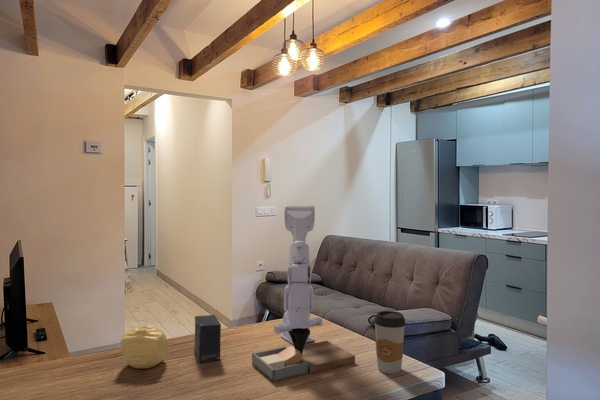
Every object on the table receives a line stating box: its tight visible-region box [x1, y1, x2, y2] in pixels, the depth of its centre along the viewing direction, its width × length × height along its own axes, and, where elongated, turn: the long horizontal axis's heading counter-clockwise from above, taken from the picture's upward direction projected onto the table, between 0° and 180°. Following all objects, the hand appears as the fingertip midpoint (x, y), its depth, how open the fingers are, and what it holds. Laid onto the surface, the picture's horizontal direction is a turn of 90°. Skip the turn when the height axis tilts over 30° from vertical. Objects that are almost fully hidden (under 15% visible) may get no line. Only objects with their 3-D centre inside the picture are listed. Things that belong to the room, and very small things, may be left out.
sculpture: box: [120, 325, 168, 370], centre depth 115 cm, size 11×12×11 cm
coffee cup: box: [374, 310, 406, 375], centre depth 113 cm, size 8×8×15 cm
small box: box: [193, 314, 222, 363], centre depth 121 cm, size 11×6×10 cm, turn 22°
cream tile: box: [260, 354, 285, 369], centre depth 111 cm, size 5×5×2 cm
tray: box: [251, 346, 309, 383], centre depth 112 cm, size 13×10×3 cm
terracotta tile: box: [277, 345, 303, 367], centre depth 114 cm, size 5×5×2 cm
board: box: [300, 340, 356, 375], centre depth 119 cm, size 14×15×2 cm
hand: (298, 354), depth 115 cm, fingers closed
